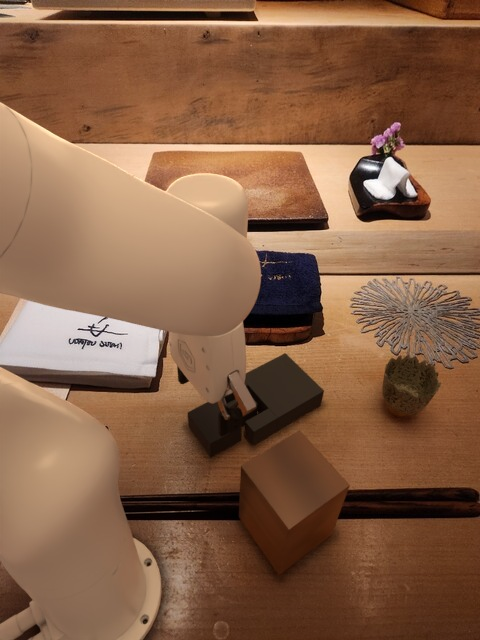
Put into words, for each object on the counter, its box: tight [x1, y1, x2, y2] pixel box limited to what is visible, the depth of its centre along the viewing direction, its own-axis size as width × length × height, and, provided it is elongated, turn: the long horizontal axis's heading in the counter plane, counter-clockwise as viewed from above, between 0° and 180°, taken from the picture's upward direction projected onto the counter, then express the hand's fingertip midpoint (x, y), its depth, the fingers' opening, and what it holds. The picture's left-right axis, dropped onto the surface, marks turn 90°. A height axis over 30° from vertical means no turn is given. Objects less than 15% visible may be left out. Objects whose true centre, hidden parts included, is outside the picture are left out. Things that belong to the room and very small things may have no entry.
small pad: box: [187, 399, 258, 459], centre depth 64 cm, size 9×6×4 cm, turn 124°
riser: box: [238, 429, 351, 576], centre depth 51 cm, size 8×8×12 cm
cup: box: [381, 354, 442, 418], centre depth 66 cm, size 8×7×8 cm
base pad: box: [224, 352, 325, 447], centre depth 68 cm, size 13×9×4 cm
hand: (209, 403), depth 59 cm, fingers open, 9 cm apart
